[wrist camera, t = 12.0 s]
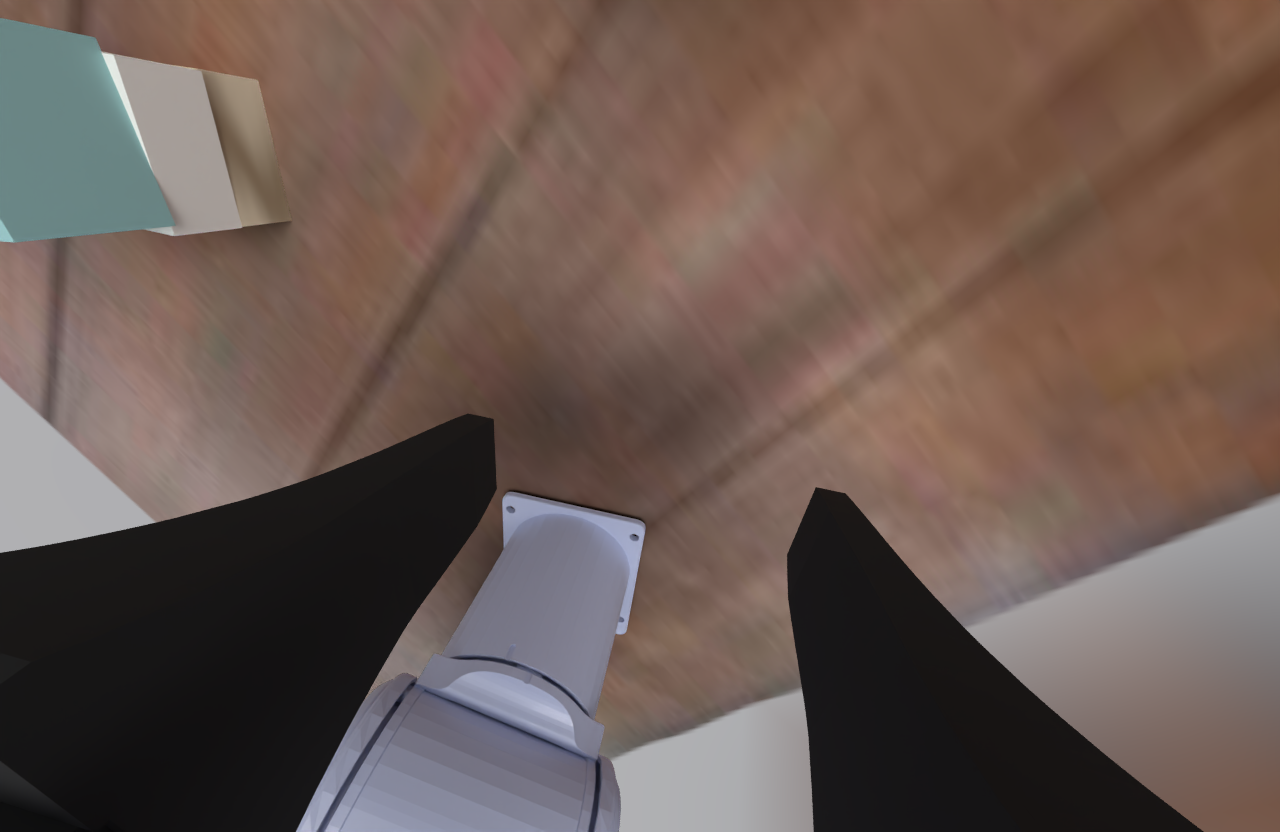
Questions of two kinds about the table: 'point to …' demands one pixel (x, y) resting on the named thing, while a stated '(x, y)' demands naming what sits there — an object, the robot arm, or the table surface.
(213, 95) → the maple brick
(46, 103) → the teal brick
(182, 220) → the white brick
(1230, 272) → the table surface
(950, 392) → the table surface
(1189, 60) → the table surface
